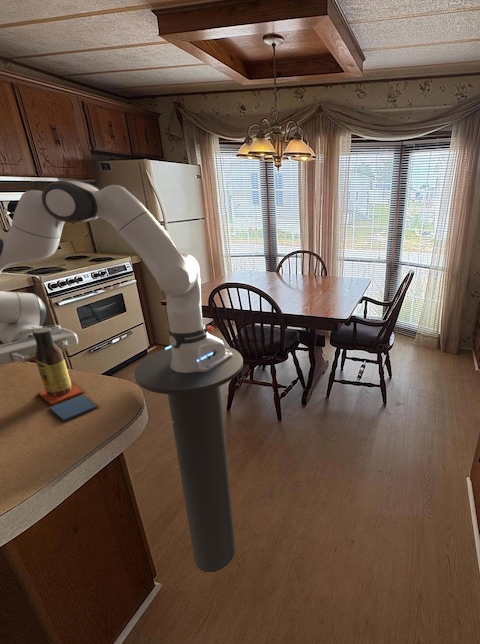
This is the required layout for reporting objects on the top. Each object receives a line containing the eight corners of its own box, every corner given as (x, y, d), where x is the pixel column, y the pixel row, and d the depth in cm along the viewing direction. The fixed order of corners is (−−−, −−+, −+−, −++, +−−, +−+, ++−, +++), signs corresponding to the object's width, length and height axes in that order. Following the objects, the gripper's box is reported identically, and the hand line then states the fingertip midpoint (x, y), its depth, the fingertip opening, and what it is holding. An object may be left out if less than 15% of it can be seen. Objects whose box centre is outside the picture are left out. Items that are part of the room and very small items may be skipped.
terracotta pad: (70, 383, 106) (69, 381, 106) (83, 393, 102) (82, 391, 101) (38, 394, 100) (38, 392, 100) (51, 405, 95) (50, 403, 95)
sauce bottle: (45, 390, 101) (25, 328, 93) (71, 384, 105) (54, 323, 97) (47, 400, 96) (26, 335, 89) (74, 393, 100) (56, 330, 93)
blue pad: (82, 396, 100) (81, 395, 100) (97, 407, 95) (96, 405, 95) (50, 409, 94) (49, 407, 93) (63, 421, 89) (63, 419, 89)
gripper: (-22, 342, 95) (-6, 356, 88) (63, 323, 110) (83, 333, 103) (-14, 362, 97) (2, 377, 90) (68, 340, 113) (88, 352, 106)
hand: (46, 353), depth 97 cm, fingers open, 8 cm apart
